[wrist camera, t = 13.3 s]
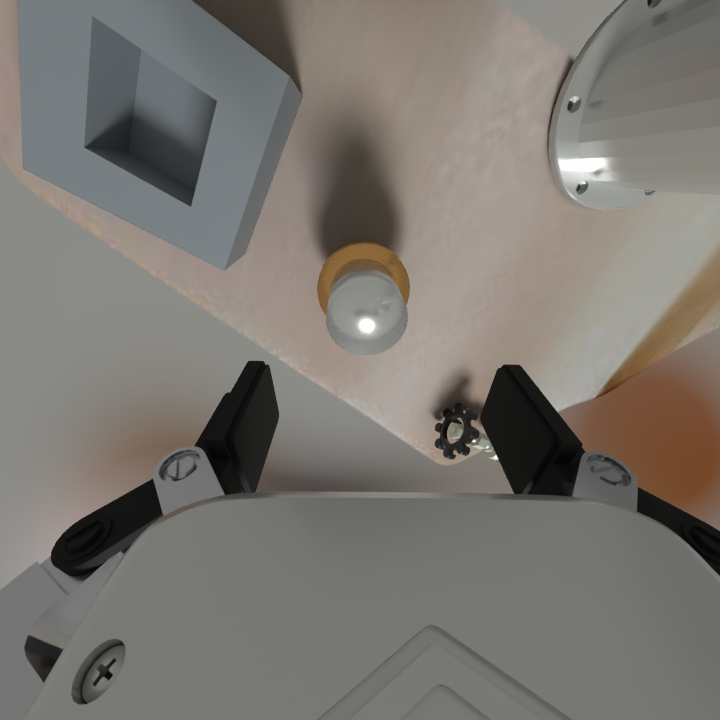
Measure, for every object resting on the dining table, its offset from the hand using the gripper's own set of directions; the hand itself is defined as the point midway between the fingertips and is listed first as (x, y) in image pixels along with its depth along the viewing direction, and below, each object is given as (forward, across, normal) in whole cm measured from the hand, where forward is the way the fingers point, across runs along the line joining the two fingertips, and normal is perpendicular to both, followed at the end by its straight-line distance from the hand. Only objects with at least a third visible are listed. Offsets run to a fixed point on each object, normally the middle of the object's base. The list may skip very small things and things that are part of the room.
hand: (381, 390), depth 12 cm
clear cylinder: (+17, +1, +1) cm, 17 cm away
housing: (+17, +13, -9) cm, 23 cm away
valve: (+18, -15, +21) cm, 31 cm away
